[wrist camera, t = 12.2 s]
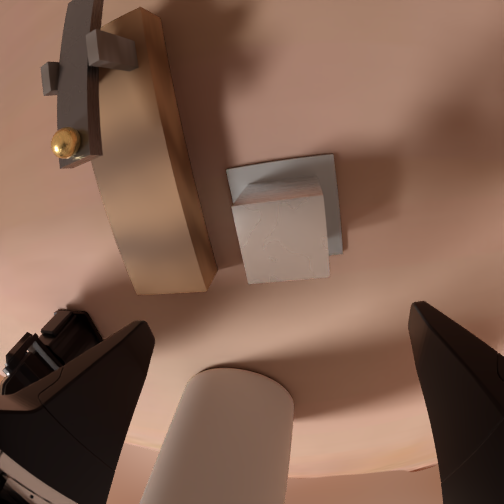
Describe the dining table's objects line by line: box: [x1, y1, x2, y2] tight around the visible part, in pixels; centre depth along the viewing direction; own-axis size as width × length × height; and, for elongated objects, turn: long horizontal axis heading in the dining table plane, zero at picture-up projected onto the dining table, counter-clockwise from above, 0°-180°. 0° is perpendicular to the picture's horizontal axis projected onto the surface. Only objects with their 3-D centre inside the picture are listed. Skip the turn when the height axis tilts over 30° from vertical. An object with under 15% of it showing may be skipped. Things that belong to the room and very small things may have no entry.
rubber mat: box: [226, 154, 343, 255], centre depth 19 cm, size 7×7×1 cm
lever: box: [51, 0, 104, 169], centre depth 10 cm, size 12×2×2 cm, turn 11°
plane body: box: [41, 7, 218, 295], centre depth 16 cm, size 20×6×7 cm, turn 11°
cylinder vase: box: [140, 368, 294, 504], centre depth 19 cm, size 12×12×25 cm
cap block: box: [231, 175, 330, 284], centre depth 17 cm, size 4×4×5 cm
